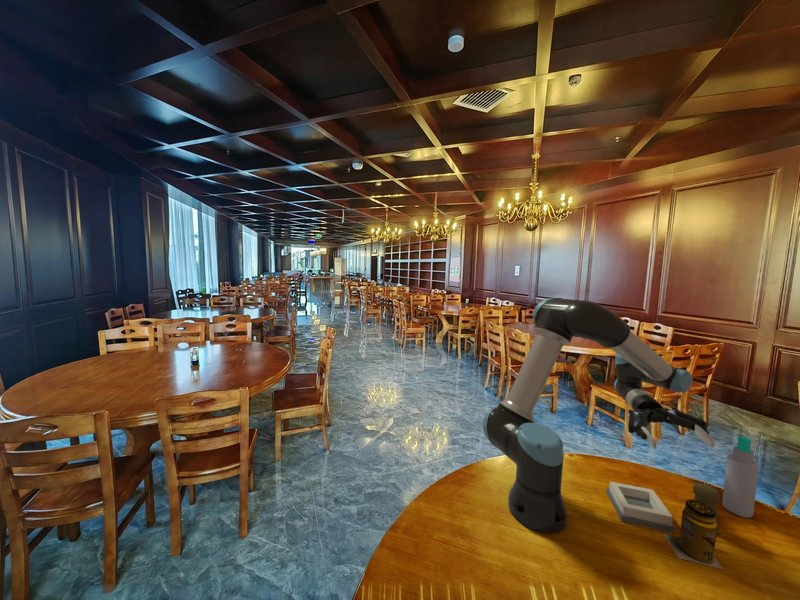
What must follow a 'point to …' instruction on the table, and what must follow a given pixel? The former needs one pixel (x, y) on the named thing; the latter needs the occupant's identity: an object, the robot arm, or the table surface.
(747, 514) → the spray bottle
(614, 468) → the table surface
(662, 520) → the collar holder
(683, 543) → the condiment
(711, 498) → the cork
